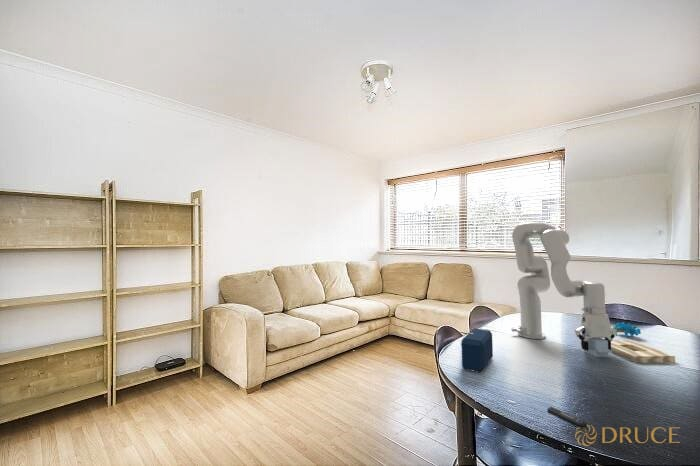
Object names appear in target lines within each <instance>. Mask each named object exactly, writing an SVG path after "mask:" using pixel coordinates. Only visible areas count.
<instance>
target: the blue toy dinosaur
mask: <svg viewBox="0 0 700 466" xmlns="http://www.w3.org/2000/svg"><path fill="white" fill-rule="evenodd" d="M612 329H614V330H616V331H617V332H616V334H615V336H617V334H618V333H624V338H627V339H628V335H630V336H634V335H635V336H639V335H641V334H642V333H641V332H642V331H641V329H640V328H637V326H636V325H633V326H632V323H627V324H626V322H617V323H615V325H613V327H612Z"/></svg>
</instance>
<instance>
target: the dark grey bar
mask: <svg viewBox="0 0 700 466" xmlns="http://www.w3.org/2000/svg"><path fill="white" fill-rule="evenodd" d="M547 413H549V414H551V415H553V416H556V417H558V418H560V419H562V420H564V421H566V422H569V423H571V424H573V425H574V426H577V427H579V428H582V429H583V428H586V427H587V426H588V424H587V422H586V421H585V420H583V419H580V418H578V417H576V416H573V415H572V414H569V413H567V412H564V411H561V410H560V409H557V408H555V407H553V406H550V407H548V408H547ZM585 426H586V427H585Z"/></svg>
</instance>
